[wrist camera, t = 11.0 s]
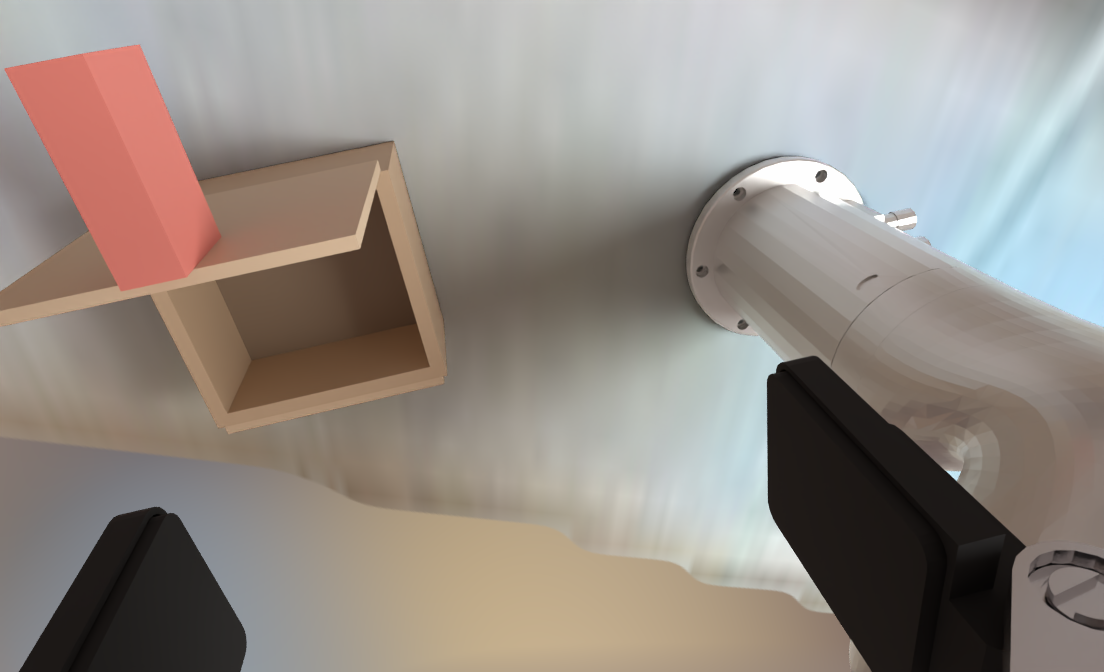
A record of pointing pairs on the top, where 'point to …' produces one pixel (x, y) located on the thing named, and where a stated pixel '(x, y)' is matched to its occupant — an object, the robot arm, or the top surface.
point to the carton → (315, 314)
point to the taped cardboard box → (160, 195)
